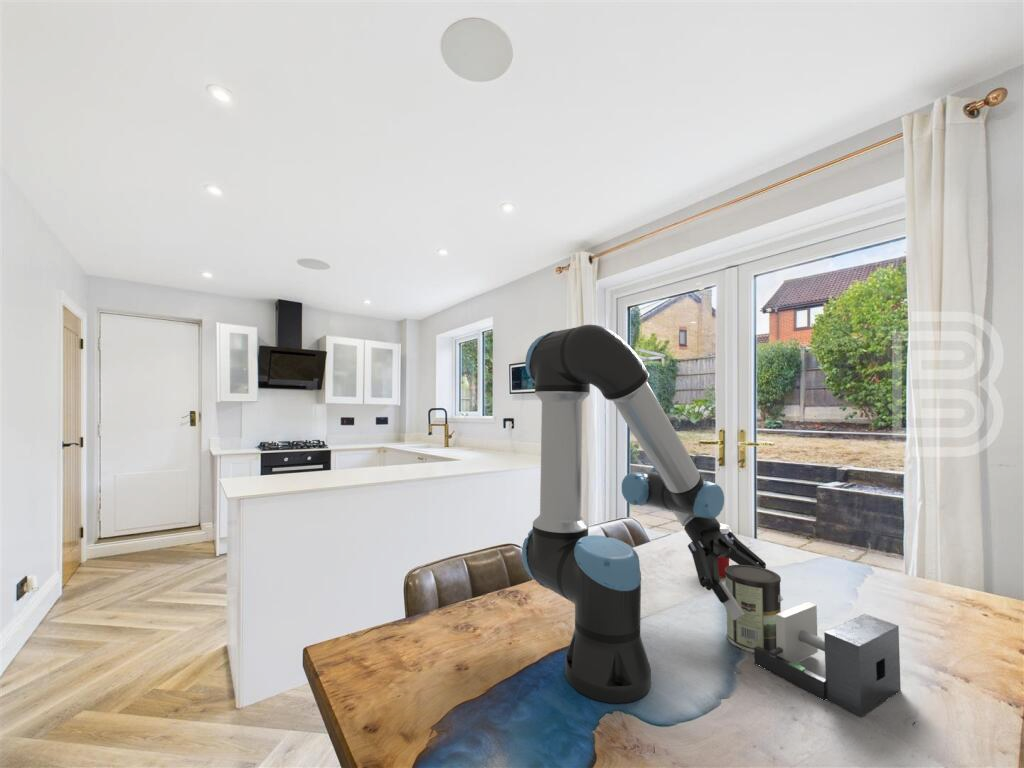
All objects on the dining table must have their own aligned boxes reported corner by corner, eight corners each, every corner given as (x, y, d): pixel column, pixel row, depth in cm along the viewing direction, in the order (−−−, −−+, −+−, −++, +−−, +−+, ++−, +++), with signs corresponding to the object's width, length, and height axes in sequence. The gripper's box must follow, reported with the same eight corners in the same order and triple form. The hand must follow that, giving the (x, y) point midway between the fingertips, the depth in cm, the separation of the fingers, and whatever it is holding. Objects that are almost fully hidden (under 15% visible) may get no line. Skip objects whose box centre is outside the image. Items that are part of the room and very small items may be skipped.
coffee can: (771, 632, 96) (769, 566, 97) (790, 658, 86) (789, 584, 87) (720, 626, 99) (719, 562, 99) (733, 652, 88) (732, 579, 89)
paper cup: (733, 572, 131) (733, 524, 132) (730, 581, 125) (730, 530, 125) (705, 567, 135) (704, 520, 136) (700, 575, 129) (700, 526, 130)
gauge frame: (754, 663, 84) (753, 604, 85) (797, 644, 92) (796, 589, 92) (859, 719, 70) (857, 647, 70) (900, 690, 77) (898, 625, 77)
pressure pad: (767, 668, 81) (766, 617, 82) (809, 648, 88) (807, 601, 89) (834, 703, 72) (833, 646, 72) (875, 678, 79) (873, 626, 79)
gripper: (720, 521, 114) (780, 604, 100) (651, 535, 102) (709, 631, 88) (739, 505, 110) (805, 589, 96) (669, 517, 97) (733, 615, 84)
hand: (759, 609), depth 92 cm, fingers open, 13 cm apart
